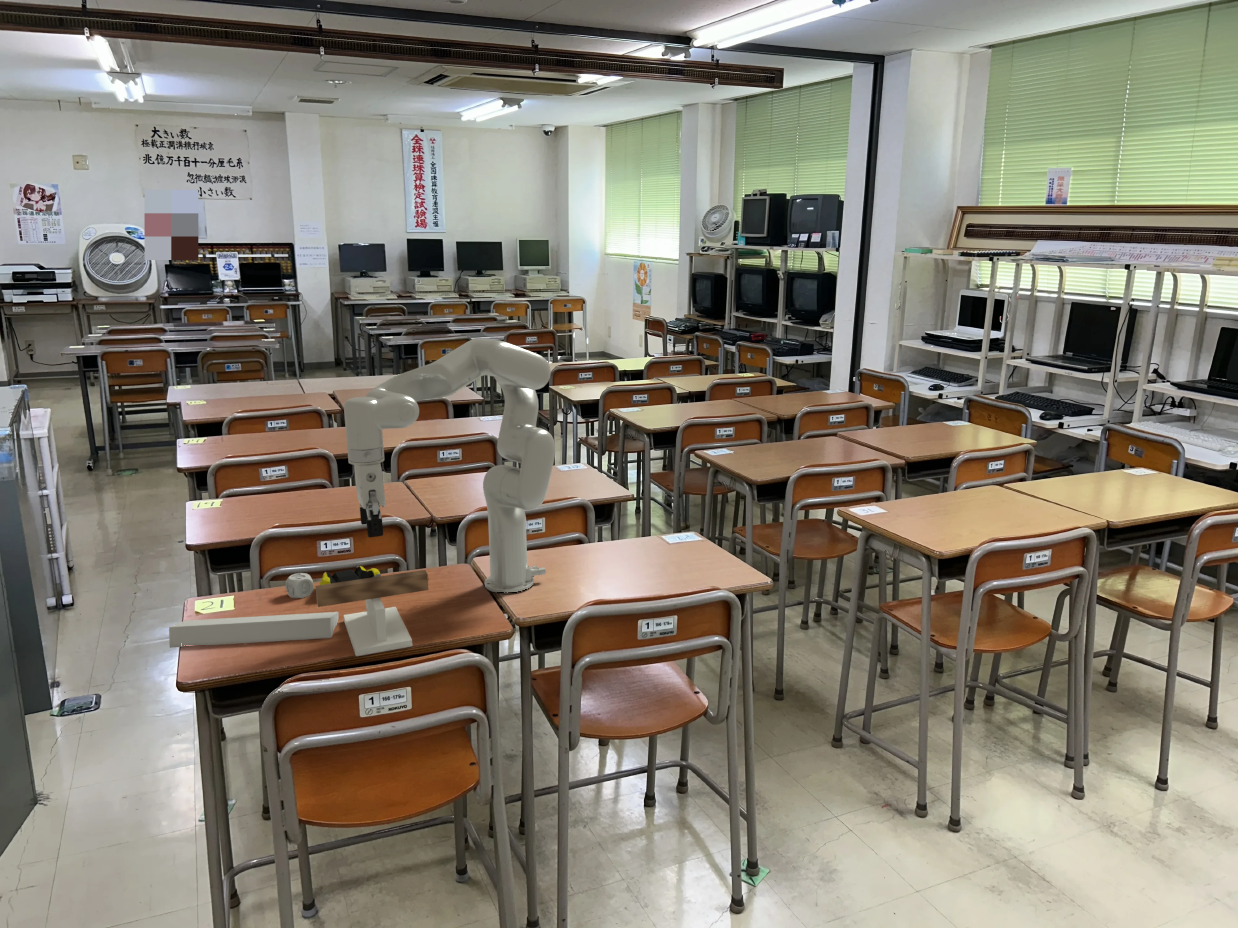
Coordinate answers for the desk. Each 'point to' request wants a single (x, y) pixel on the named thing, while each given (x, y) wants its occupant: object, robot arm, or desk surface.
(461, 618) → the desk surface
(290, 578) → the die
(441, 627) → the desk surface
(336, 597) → the walnut batten
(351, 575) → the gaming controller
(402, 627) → the stand
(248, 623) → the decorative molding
